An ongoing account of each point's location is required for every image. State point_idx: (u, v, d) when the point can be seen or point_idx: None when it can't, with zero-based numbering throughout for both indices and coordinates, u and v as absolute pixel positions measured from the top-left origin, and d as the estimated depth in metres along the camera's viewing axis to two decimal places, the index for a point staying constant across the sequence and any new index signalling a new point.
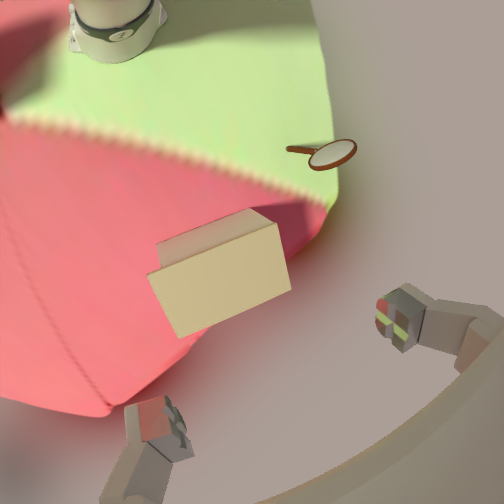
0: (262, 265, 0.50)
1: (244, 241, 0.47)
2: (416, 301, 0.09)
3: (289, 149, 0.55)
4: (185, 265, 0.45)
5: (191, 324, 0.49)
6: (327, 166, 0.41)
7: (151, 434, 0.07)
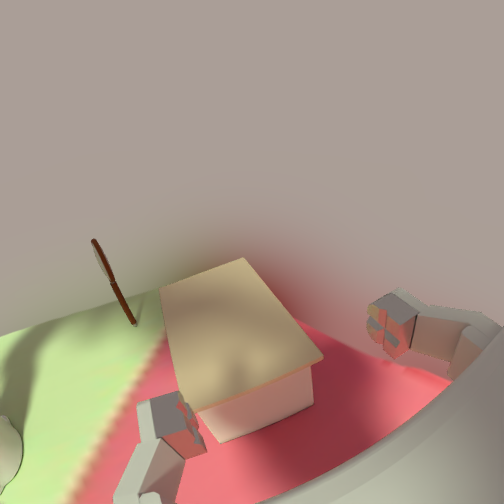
0: (204, 288, 0.39)
1: (168, 309, 0.36)
2: (408, 307, 0.09)
3: (131, 319, 0.53)
4: (181, 363, 0.28)
5: (290, 342, 0.28)
6: (99, 253, 0.44)
7: (165, 430, 0.07)
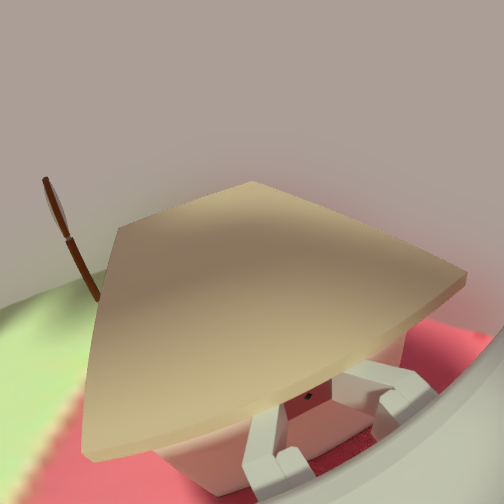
0: (187, 214, 0.23)
1: (122, 246, 0.20)
2: None
3: (94, 294, 0.37)
4: (110, 323, 0.11)
5: (378, 259, 0.11)
6: (47, 190, 0.27)
7: None
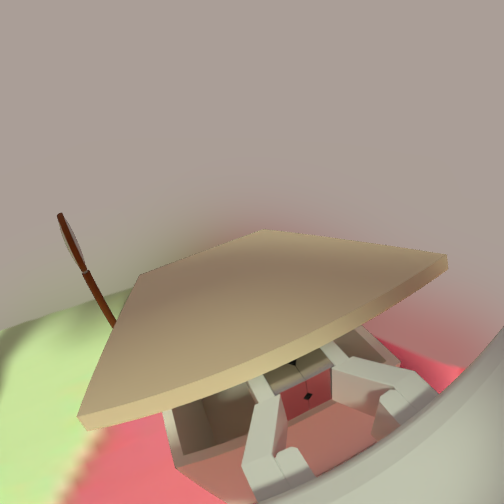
0: (202, 258, 0.25)
1: (141, 285, 0.22)
2: (325, 356, 0.08)
3: (111, 322, 0.39)
4: (124, 332, 0.12)
5: (363, 261, 0.12)
6: (64, 229, 0.30)
7: (282, 386, 0.08)
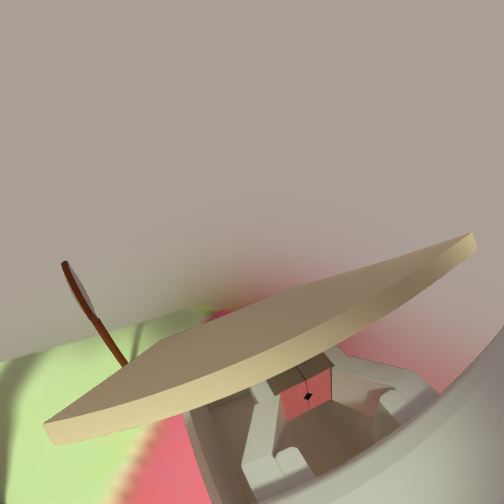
0: (223, 318, 0.24)
1: (159, 344, 0.21)
2: (325, 356, 0.08)
3: None
4: (127, 370, 0.11)
5: (386, 268, 0.10)
6: (71, 284, 0.28)
7: (282, 386, 0.08)
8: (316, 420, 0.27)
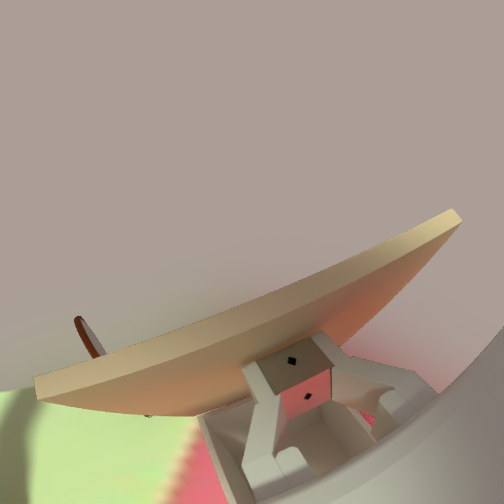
0: None
1: None
2: (324, 356, 0.08)
3: None
4: None
5: None
6: (88, 347, 0.26)
7: (282, 386, 0.08)
8: None
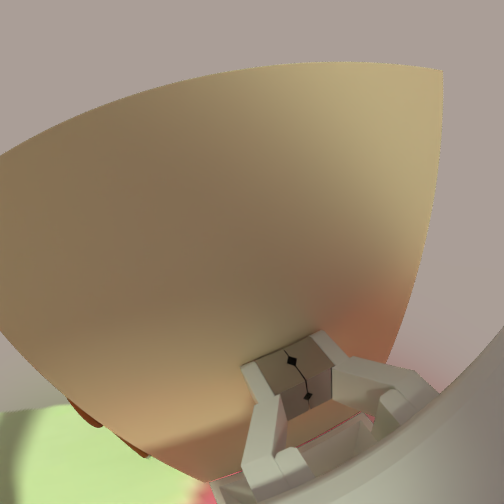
0: None
1: None
2: (325, 356, 0.08)
3: (140, 453, 0.27)
4: None
5: None
6: None
7: (281, 386, 0.08)
8: None
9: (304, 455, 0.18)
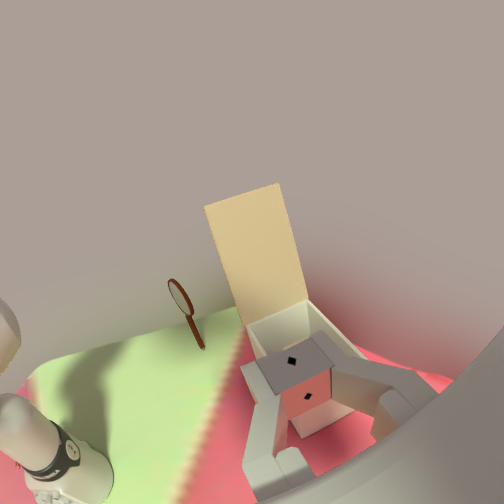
0: None
1: None
2: (324, 356, 0.08)
3: (200, 344, 0.64)
4: None
5: None
6: (183, 293, 0.54)
7: (282, 386, 0.08)
8: None
9: (283, 315, 0.54)
